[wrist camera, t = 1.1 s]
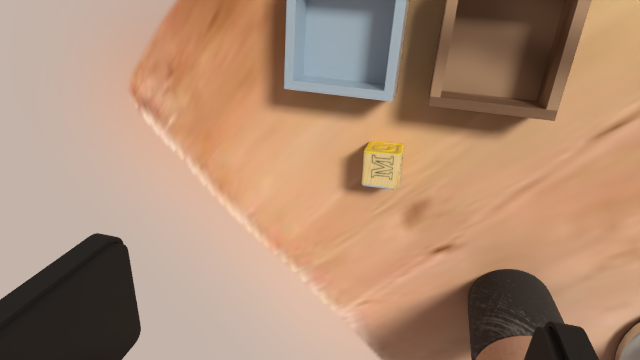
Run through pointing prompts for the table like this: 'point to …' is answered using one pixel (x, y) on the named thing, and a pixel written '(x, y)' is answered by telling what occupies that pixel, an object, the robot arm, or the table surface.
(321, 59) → the slate box
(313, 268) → the table surface
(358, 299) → the table surface
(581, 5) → the walnut box
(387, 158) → the alphabet block
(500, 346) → the travel mug
